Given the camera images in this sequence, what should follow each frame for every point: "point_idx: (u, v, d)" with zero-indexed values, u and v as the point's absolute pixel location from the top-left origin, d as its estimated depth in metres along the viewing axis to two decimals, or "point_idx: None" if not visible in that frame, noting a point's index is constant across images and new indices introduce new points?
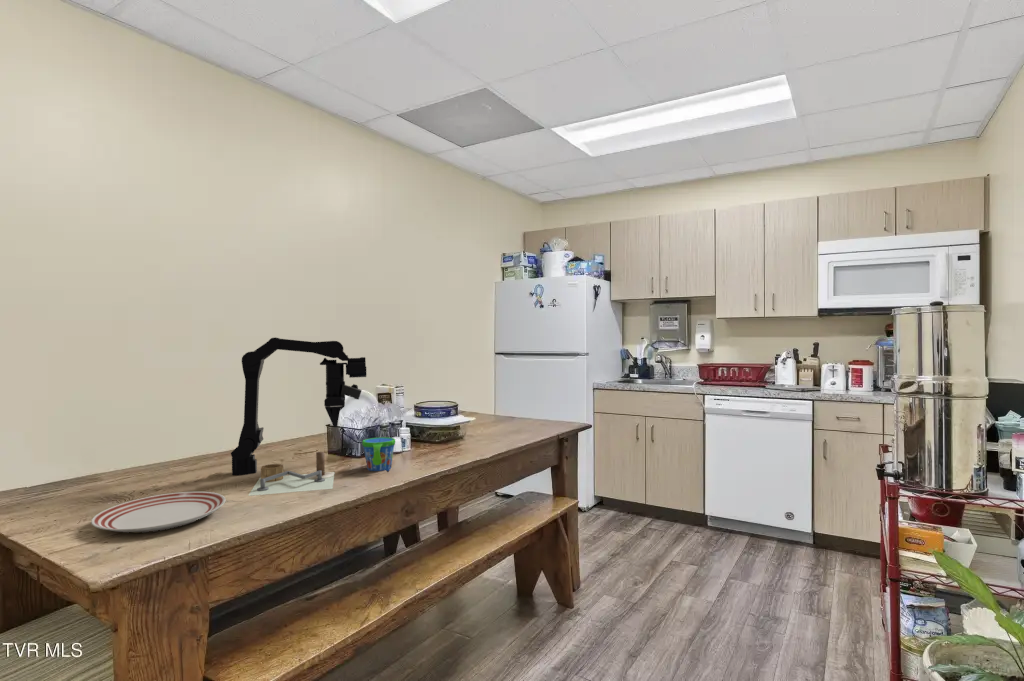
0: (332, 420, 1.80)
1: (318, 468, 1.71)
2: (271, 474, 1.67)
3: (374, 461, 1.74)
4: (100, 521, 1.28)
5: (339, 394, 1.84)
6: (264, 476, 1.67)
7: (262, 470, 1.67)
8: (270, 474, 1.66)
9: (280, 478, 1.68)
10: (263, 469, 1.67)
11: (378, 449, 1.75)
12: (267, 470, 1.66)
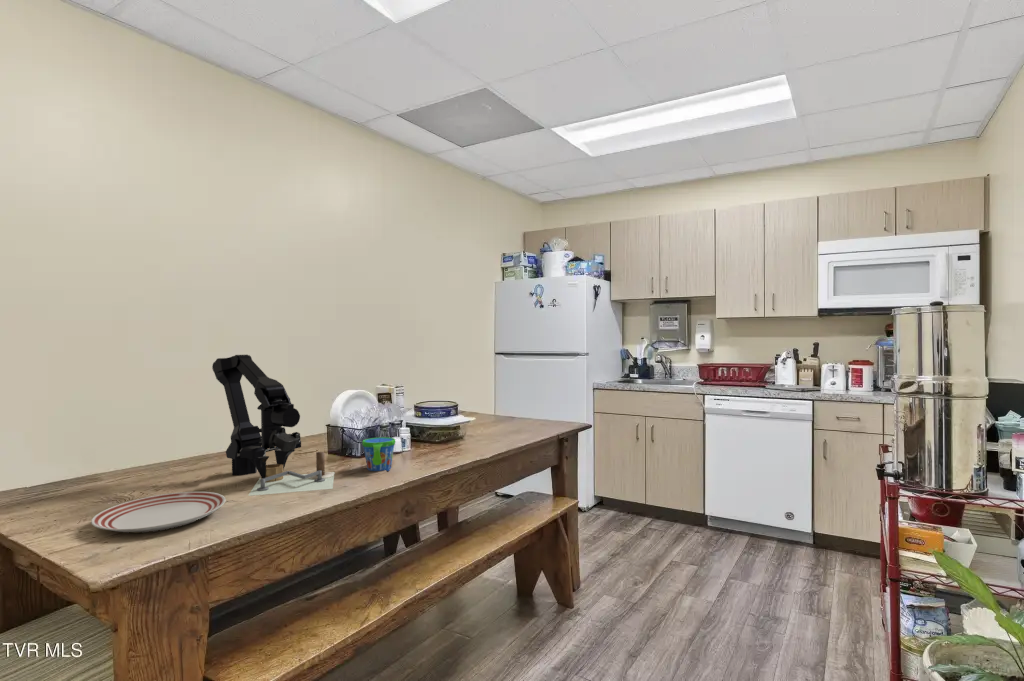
0: (259, 471, 1.66)
1: (318, 468, 1.71)
2: (271, 474, 1.67)
3: (374, 461, 1.74)
4: (100, 521, 1.28)
5: (268, 443, 1.66)
6: None
7: None
8: (270, 474, 1.66)
9: (280, 478, 1.68)
10: None
11: (378, 449, 1.75)
12: (267, 470, 1.66)
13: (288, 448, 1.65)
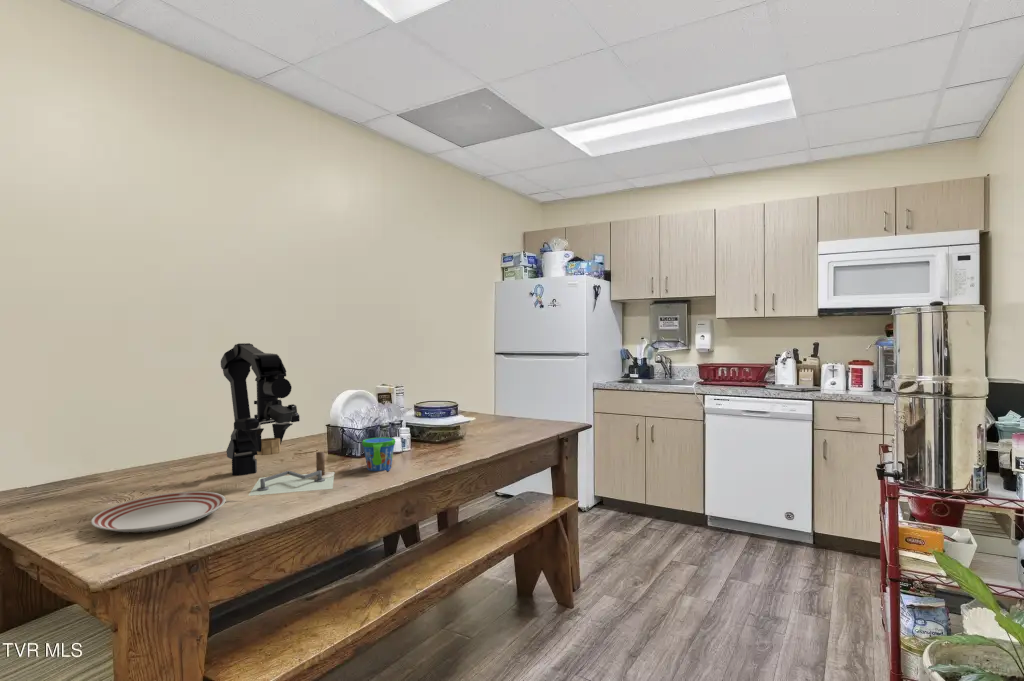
0: (254, 444, 1.61)
1: (318, 468, 1.71)
2: (267, 447, 1.61)
3: (374, 461, 1.74)
4: (100, 521, 1.28)
5: (263, 415, 1.61)
6: None
7: None
8: (266, 447, 1.61)
9: (276, 452, 1.63)
10: None
11: (378, 449, 1.75)
12: (263, 443, 1.61)
13: (283, 420, 1.59)
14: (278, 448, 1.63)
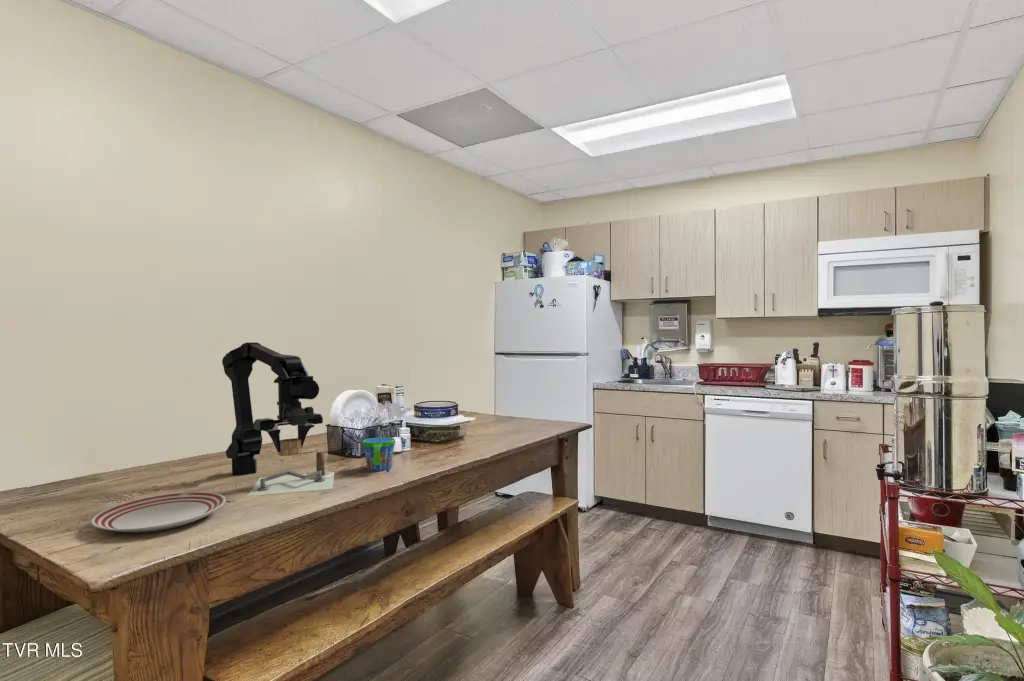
0: (274, 444, 1.64)
1: (318, 468, 1.71)
2: (285, 448, 1.63)
3: (374, 461, 1.74)
4: (100, 521, 1.28)
5: None
6: None
7: None
8: (284, 448, 1.63)
9: (295, 453, 1.64)
10: None
11: (378, 449, 1.75)
12: (281, 444, 1.63)
13: (296, 422, 1.60)
14: (297, 449, 1.65)
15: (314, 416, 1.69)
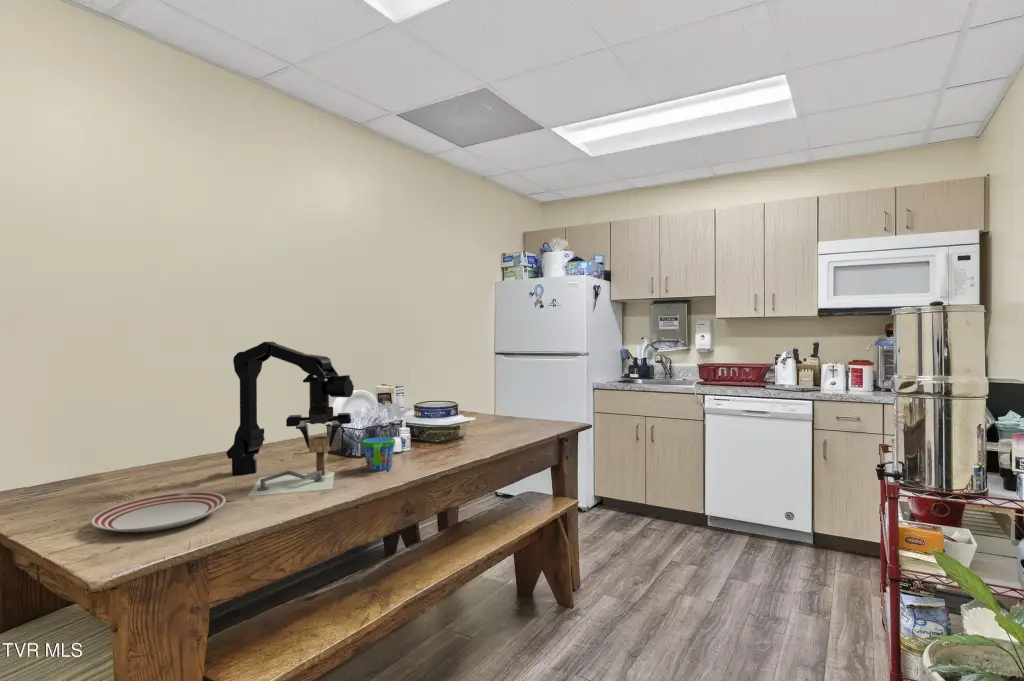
0: None
1: (318, 468, 1.71)
2: (311, 445, 1.69)
3: (374, 461, 1.74)
4: (100, 521, 1.28)
5: None
6: (309, 446, 1.71)
7: None
8: (311, 445, 1.70)
9: (320, 450, 1.69)
10: None
11: (378, 449, 1.75)
12: (309, 440, 1.70)
13: (314, 421, 1.64)
14: (322, 447, 1.70)
15: (341, 416, 1.71)
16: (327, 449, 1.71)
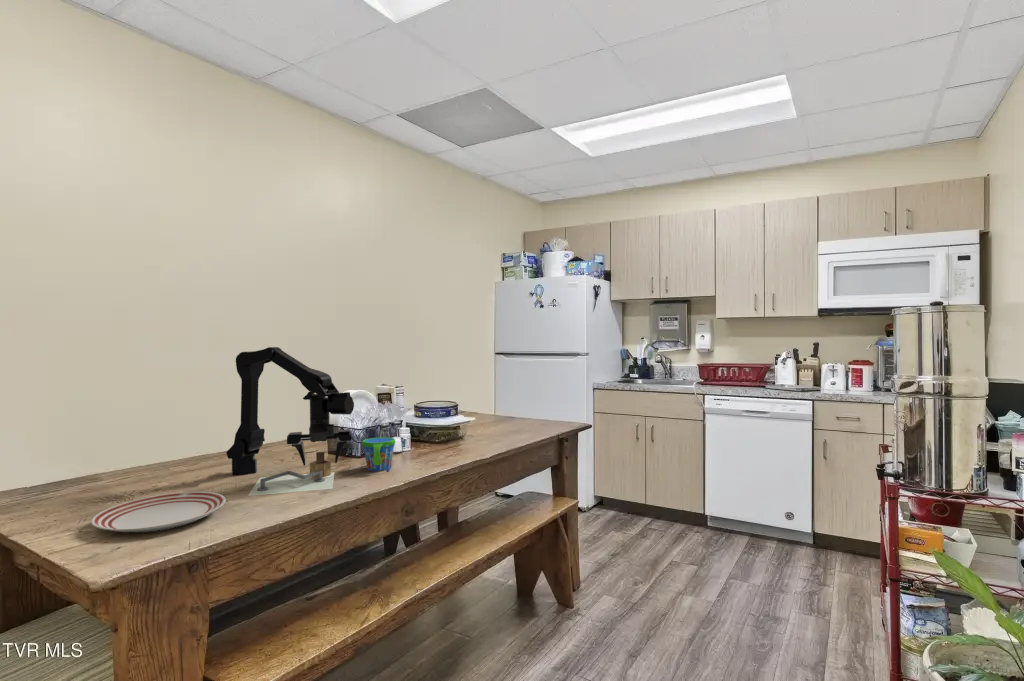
0: None
1: None
2: (312, 470, 1.70)
3: (374, 461, 1.74)
4: (100, 521, 1.28)
5: None
6: (310, 470, 1.71)
7: None
8: (311, 470, 1.70)
9: None
10: (310, 463, 1.72)
11: (378, 449, 1.75)
12: (310, 465, 1.70)
13: (315, 439, 1.65)
14: (323, 472, 1.70)
15: (342, 433, 1.72)
16: (328, 474, 1.71)
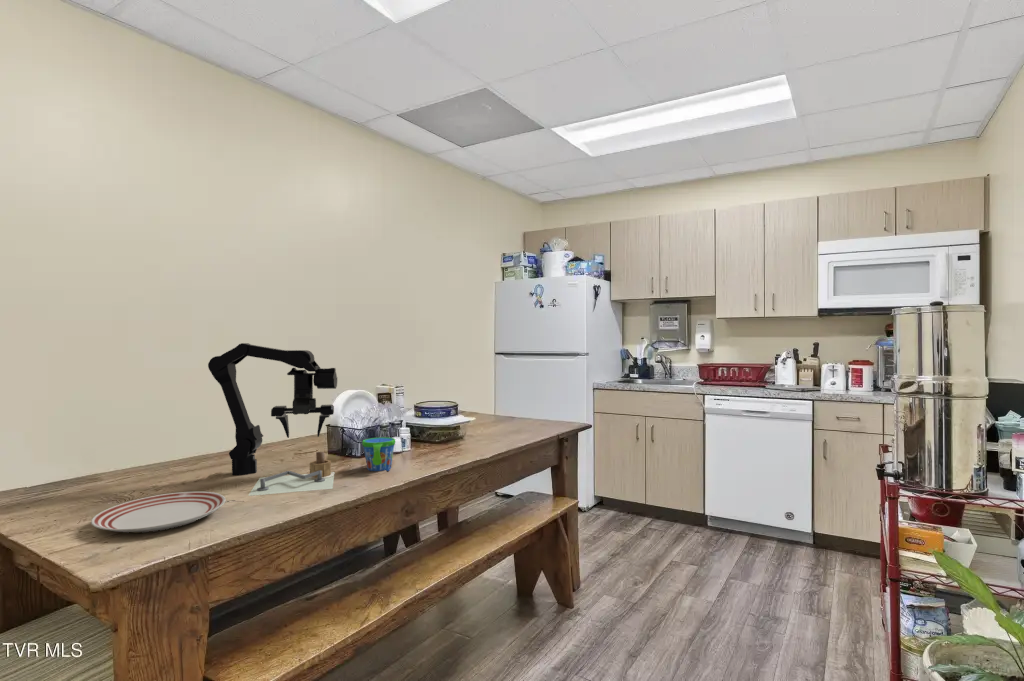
0: None
1: None
2: (312, 470, 1.70)
3: (374, 461, 1.74)
4: (100, 521, 1.28)
5: None
6: (310, 470, 1.71)
7: None
8: (311, 470, 1.70)
9: None
10: (310, 463, 1.72)
11: (378, 449, 1.75)
12: (310, 465, 1.70)
13: (297, 412, 1.72)
14: (323, 472, 1.70)
15: (324, 407, 1.79)
16: (328, 474, 1.71)
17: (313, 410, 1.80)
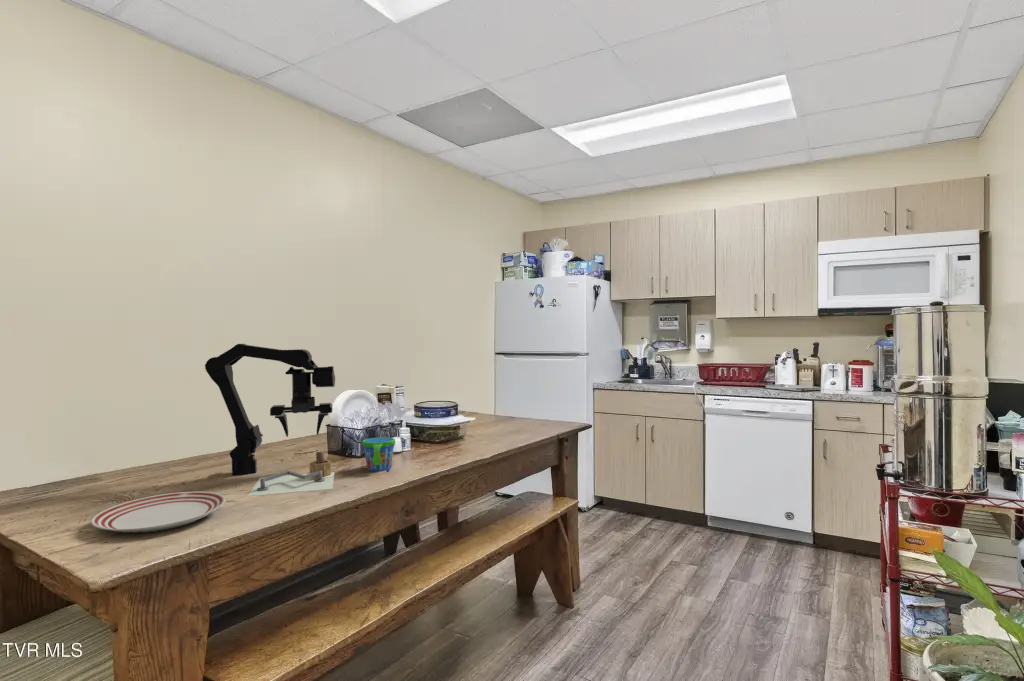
0: None
1: None
2: (312, 470, 1.70)
3: (374, 461, 1.74)
4: (100, 521, 1.28)
5: None
6: (310, 470, 1.71)
7: None
8: (311, 470, 1.70)
9: None
10: (310, 463, 1.72)
11: (378, 449, 1.75)
12: (310, 465, 1.70)
13: (296, 410, 1.73)
14: (323, 472, 1.70)
15: (323, 406, 1.80)
16: (328, 474, 1.71)
17: (312, 409, 1.82)
